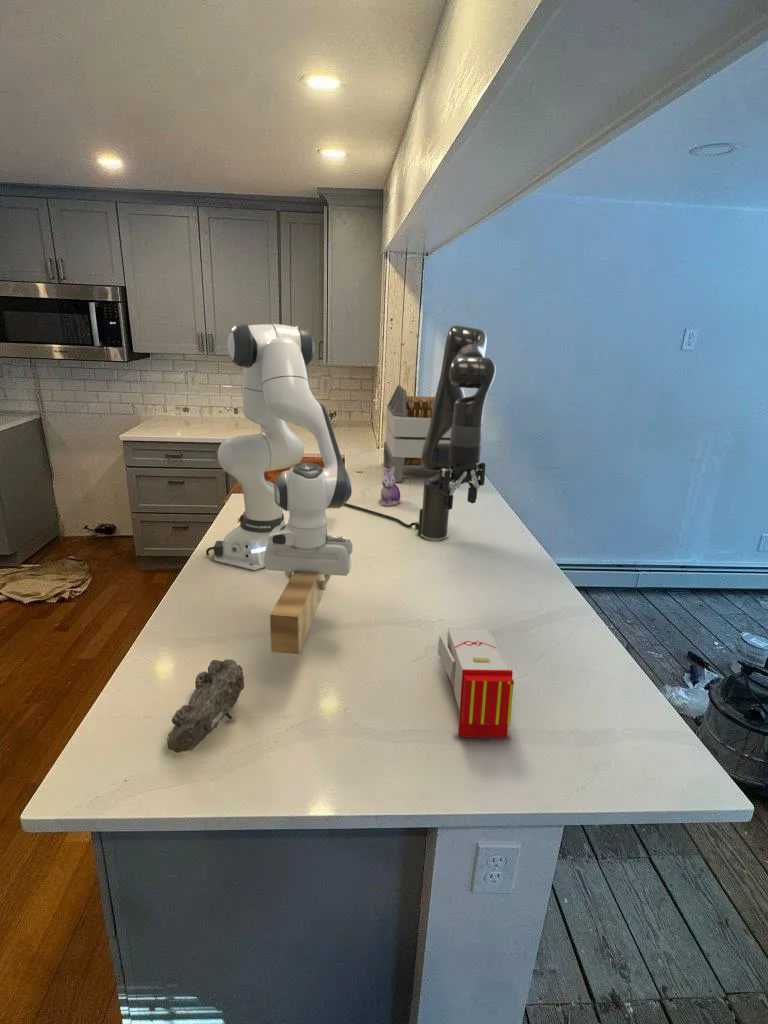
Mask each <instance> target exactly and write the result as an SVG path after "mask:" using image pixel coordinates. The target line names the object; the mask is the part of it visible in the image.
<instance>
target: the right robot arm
mask: <svg viewBox="0 0 768 1024" xmlns="http://www.w3.org/2000/svg"><path fill="white" fill-rule="evenodd" d="M487 338H488V337H487V334H486V332H485V331H484V330H482V329H480V328H476V327H475V328H474V327H470V326H466V325H465V326H463V325H459V324H458V325H456V324H455V325H454V324H453V325H452V326H451V327H450V328H449V330H448V332H447V334H446V339H445V343H444V351H443V358H442V364H441V371H440V375H439V376H440V377H439V381H438V384H437V388H436V392H435V396H434V397H435V400H434V405H433V410H432V416H431V421H430V426H429V430H428V433H427V436H426V439H425V442H424V446H423V449H422V454H421V465H422V466H421V467H422V469H423V470H424V471H428V472H429V471H430V472H438V473H437V474H435V475H433V476H431V477H429V478H427V479H425V480H424V482H423V493H422V496H423V497H422V506H421V508H420V509H419V516H418V521H416V522H411V523H410V524H407V523H405V522H404V521H402V520H401V519H399V518H396V517H394V516H391V515H389V514H388V515H387V514H385V513H384V514H383V513H381V512H377V511H374V510H371V509H367V508H364V507H360V506H358V505H354V504H350V503H347V502H346V503H345V504H344V505H343V506H346V507H350V508H353V509H356V510H360V511H362V512H366V513H369V514H372V515H376V516H379V517H383V518H386V519H390V520H392V521H395V522H397V523H399V524H400V525H402V526H403V527H405V528H412V527H413V526H414V529H415V530H417V535H418V536H420V538H421V539H424V540H426V541H432V542H440V541H444V540H446V539H447V538H448V525H449V517H450V516H449V514H450V510H452V509H453V506H454V505H453V503H454V493H455V491H456V490H457V489H459V488H460V485H463V484H465V483H467V485H468V489H467V499H466V500H467V502H468V503H470V504H476V501H477V499H478V498H477V497H478V490H479V488H480V487H481V486H482V487H483V486H484V485H485V480H486V479H485V478H486V463H485V462H482V461H480V460H481V451H482V442H483V422H484V421H483V420H484V412H485V406H486V401H487V398H488V395H489V392H490V390H491V387H492V385H493V382H494V380H495V377H496V372H497V368H496V364H495V362H494V360H493V359H491V358H490V357H485V355H486V350H487V342H488V341H487V340H488V339H487ZM464 389H477V391H476V392H475V393H474V394H473V395H470V396H466V395H465V391H464ZM451 428H452V429H451ZM450 429H451V437H450V443H439V441H440V439H441V438H442V437H443V436H444V435H445V434H446V433H447V432H448V431H449V430H450ZM452 480H453V481H454V482H455V483H453V482H452Z"/></svg>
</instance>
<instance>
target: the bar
mask: <svg viewBox="0 0 768 1024" xmlns="http://www.w3.org/2000/svg"><path fill="white" fill-rule="evenodd" d="M321 581H324V574H319V572H306V571H294V572H292V576H291V578H290V580H288V582H287V583H286V585H285V587H284V588H283V591H282V592H281V594H280V596H279V598H278V599H277V601H276V603H275V604H274V607H273V609H272V610H271V612H270V614H269V624H270V625H269V626H270V627H269V628H270V652H271V653H279V654H293V655H299V654H300V652H301V649H302V647H303V645H304V642H305V640H306V637H307V634H308V633H309V631H310V628H311V625H312V623H313V620H314V619H315V616H316V613H317V611H318V608H319V606H320V603H321V601H322V599H323V596H324V590H320V589H319V588H320V587H319V584H320V582H321Z"/></svg>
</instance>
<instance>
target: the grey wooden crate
mask: <svg viewBox="0 0 768 1024" xmlns="http://www.w3.org/2000/svg"><path fill="white" fill-rule="evenodd" d="M407 394H408V393H407V390H406V389H404V388H403V387H402V385H399V384H398V385H397V386H396V388H395V390H394V392H393V394H392V395H391V398H390V400H389V402H388V404H387V405H386V413H385V414H386V415H385V423H386V428H385V438H384V442H383V466H384V467H386V468H387V467H388V468H389V470H390V469H391V468H392V467H393V466H394V468H395V469H394V474H393V476H394V478H395V481H396V483H402V482H403V475H404V469H405V466H406V467H407V466H411V467H412V466H413V467H415V466H416V467H417V466H418V467H422V465H421V454H422V449H423V446H424V442H425V439H426V436H427V433H428V430H429V426H430V421H431V416H432V410H433V405H434V400H435V396H415V395H414V396H413V395H412V396H411V395H407ZM451 429H452V428H451ZM451 429H450V430H449V431H448V432H447V433H446V434H445V435H444V436H443V437H442V438H441V439H440V441H439V443H450V437H451ZM452 482H453V483H455V482H454V481H453V480H452Z"/></svg>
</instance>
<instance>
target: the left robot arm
mask: <svg viewBox="0 0 768 1024" xmlns="http://www.w3.org/2000/svg"><path fill="white" fill-rule="evenodd" d="M314 341H315V340H314V336H313V334H312V333H311V331H310V330H309V329H308V328H306V327H303V326H299V325H294V326H293V325H286V324H279V323H270V324H265V323H264V324H259V323H258V324H247V323H243V324H242V323H241V324H236V325H234V326H233V327H232V328H231V329H230V331H229V334H228V337H227V341H226V342H227V343H226V347H227V352H228V354H229V357H230V360H231V362H232V363H234V364H235V366H238V367H242V368H243V372H242V373H243V374H242V412H243V414H244V416H245V418H247V419H248V420H250V421H251V422H252V423H255V424H257V425H259V427H260V433H256V434H255V433H254V434H245V435H237V436H234V437H231V438H228V439H225V440H223V441H222V442H221V443H220V445H219V448H218V449H217V460H218V463H219V466H220V467H221V468H222V470H223V471H225V472H226V473H227V474H228V475H230V476H232V477H233V478H234V479H235V480H236V481H237V483H238V484H239V486H240V488H241V490H242V494H243V501H244V511H243V513H242V514H240V516H239V517H238V518H237V524H239V523H240V524H239V525H238V526H237V527H235V528H233V529H232V530H231V531H230V532H228V533H227V534H226V535H225V537H224V538H223V540H216V541H215V543H214V545H213V546H210V547H208V548H207V549H206V550H205V555H206V556H207V557H208V556H210V553H209V552H210V551H212V550H213V555H214V556H213V557H214V558H213V560H214V561H215V562H218V563H219V562H220V563H221V564H222V563H223V564H226V565H231V566H234V567H235V566H236V567H240V568H243V569H247V570H251V571H257V570H260V569H263V568H265V569H266V570H267V571H273V572H275V571H276V572H284V576H285V578H286V579H287V581H289V580H290V578H291V576H292V575H293V573H294V571H306V572H319V574H323V581H321V582H320V584H319V587H320V588H319V589H320V590H323V591H327V587H328V582H329V581H330V579H331V577H332V576H341V577H347V576H348V575H349V574H350V572H351V570H352V557H351V554H352V553H353V542H352V540H350V539H349V538H347V537H345V536H336V535H328V518H327V515H326V510H327V509H340V508H342V507H343V506H345V505H344V504H345V503H347V502H348V501H349V500H350V499H351V497H352V494H353V493H352V492H353V491H352V483H351V479H350V476H349V473H348V472H347V469H346V466H345V464H344V461H343V458H342V455H341V451H340V448H339V445H338V441H337V438H336V435H335V431H334V428H333V425H332V422H331V419H330V416H329V413H328V411H327V409H326V406H325V405H324V404H323V403H321V402H320V401H318V400H317V399H316V398H315V396H314V395H313V393H312V391H311V388H310V385H309V377H308V371H307V367H308V366H309V364H311V362H313V358H314V355H315V342H314ZM288 423H289V424H293V425H296V426H298V427H300V428H303V429H306V430H307V431H309V432H310V433H311V434H312V435H313V436H314V438H315V440H316V444H317V446H318V450H319V453H320V456H321V460H322V463H323V467H322V466H321V465H319V464H316V463H313V462H301V461H302V460H303V457H304V452H305V449H304V448H305V447H304V443H303V441H302V439H301V438H300V437H299V435H298V434H297V433H295V432H293V430H292V429H291V428H290V427H289V425H288ZM288 468H289V469H288ZM284 469H287V470H284ZM276 470H284V471H281V472H280V473H279V474H278V475H277V476H276V478H275V479H274V480H273V482H272V481H269V480H267V479H266V478H265V472H271V471H276ZM283 511H285V512H288V513H289V517H288V522H287V523H285V515H284V513H283Z"/></svg>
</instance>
